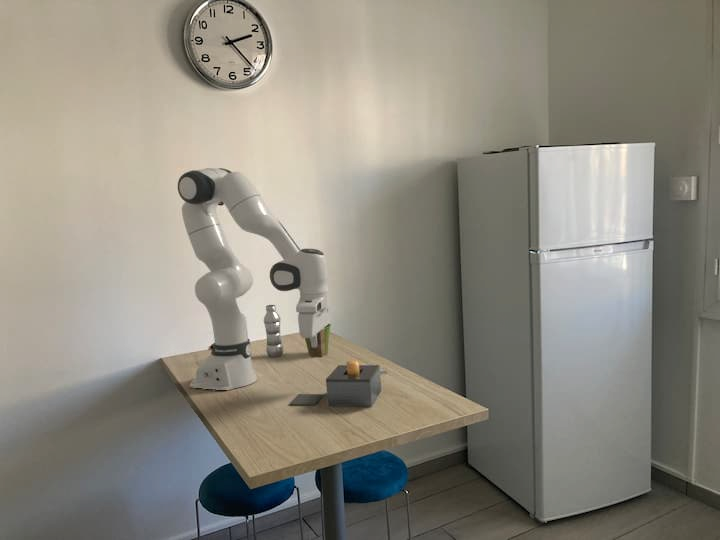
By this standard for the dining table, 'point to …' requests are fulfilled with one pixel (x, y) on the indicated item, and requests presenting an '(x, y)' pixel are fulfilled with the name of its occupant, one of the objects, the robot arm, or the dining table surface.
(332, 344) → the dining table surface
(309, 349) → the plant pot
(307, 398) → the pad
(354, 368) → the egg
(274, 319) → the silver metal bottle
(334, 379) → the box
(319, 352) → the wood grain block
